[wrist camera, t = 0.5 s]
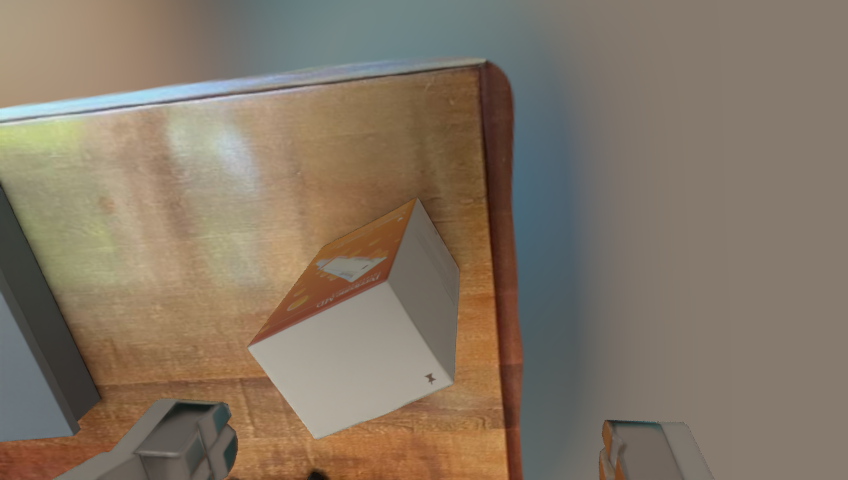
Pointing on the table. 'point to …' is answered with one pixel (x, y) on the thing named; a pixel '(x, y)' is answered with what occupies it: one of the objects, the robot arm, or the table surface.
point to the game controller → (315, 477)
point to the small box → (366, 324)
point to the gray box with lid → (35, 348)
